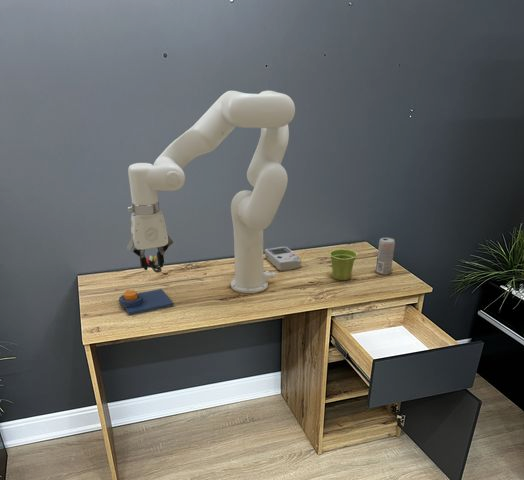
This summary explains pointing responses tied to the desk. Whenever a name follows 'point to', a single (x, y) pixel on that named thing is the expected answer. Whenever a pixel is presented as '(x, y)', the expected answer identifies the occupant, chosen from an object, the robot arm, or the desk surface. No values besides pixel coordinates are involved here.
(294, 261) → the handheld gaming device
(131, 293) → the power button
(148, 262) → the composite cable
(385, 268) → the energy drink
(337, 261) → the plant pot
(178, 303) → the desk surface
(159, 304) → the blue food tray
